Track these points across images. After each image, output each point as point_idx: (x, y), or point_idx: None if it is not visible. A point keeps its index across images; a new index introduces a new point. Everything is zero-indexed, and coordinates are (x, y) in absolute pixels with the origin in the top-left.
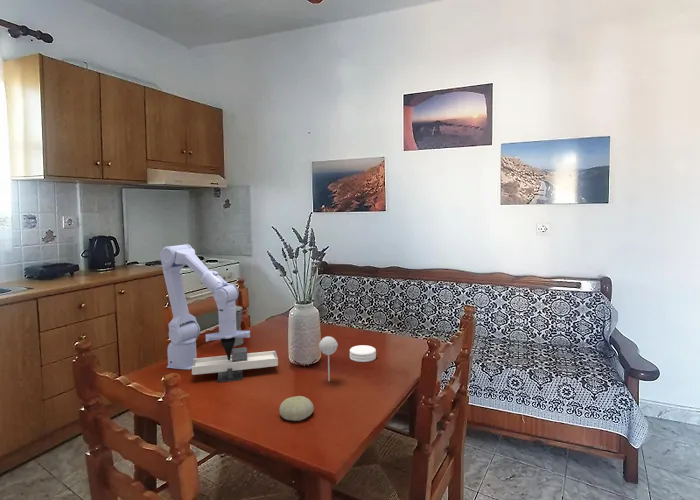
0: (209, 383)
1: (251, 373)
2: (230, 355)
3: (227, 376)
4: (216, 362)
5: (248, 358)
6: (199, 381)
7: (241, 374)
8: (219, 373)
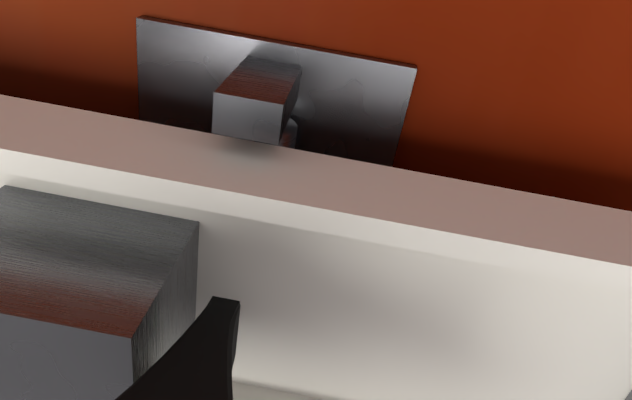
0: (503, 87)
1: None
2: (180, 337)
3: None
4: (375, 359)
5: None
6: (576, 189)
7: None
8: None
